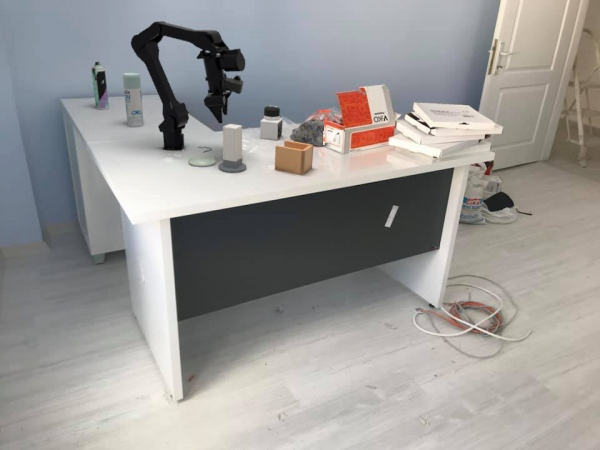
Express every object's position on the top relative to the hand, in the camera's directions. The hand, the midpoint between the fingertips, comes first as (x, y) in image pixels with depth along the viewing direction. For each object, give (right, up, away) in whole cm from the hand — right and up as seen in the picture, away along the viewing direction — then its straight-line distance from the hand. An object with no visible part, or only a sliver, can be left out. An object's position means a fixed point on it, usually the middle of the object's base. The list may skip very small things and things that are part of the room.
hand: (223, 118), depth 169 cm
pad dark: (+4, -17, -7) cm, 19 cm away
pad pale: (-7, -15, -3) cm, 17 cm away
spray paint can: (-41, +4, +33) cm, 52 cm away
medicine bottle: (+14, -1, +28) cm, 32 cm away
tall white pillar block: (+4, -17, -7) cm, 19 cm away
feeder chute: (+24, -17, -4) cm, 30 cm away
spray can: (-63, +16, +55) cm, 85 cm away
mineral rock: (+30, -5, +24) cm, 38 cm away
